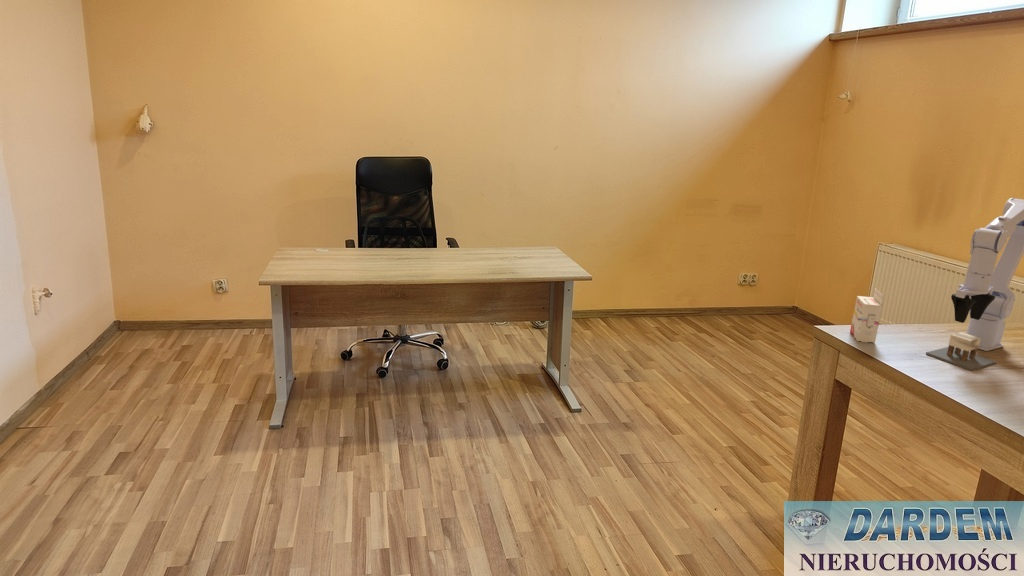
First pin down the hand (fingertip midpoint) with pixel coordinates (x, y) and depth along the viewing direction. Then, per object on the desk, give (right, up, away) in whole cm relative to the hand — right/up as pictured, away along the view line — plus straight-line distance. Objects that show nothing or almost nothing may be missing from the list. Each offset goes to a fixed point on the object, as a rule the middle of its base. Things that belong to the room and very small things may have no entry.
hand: (967, 320), depth 178 cm
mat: (-2, -11, 0) cm, 11 cm away
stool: (-2, -10, 0) cm, 10 cm away
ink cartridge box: (-22, -6, +14) cm, 26 cm away
